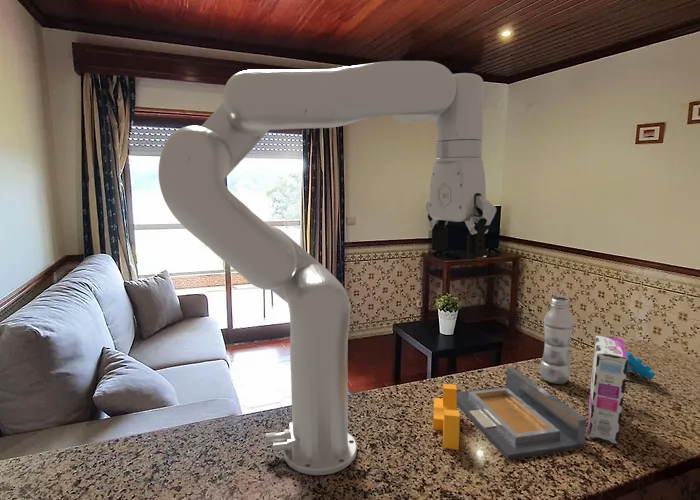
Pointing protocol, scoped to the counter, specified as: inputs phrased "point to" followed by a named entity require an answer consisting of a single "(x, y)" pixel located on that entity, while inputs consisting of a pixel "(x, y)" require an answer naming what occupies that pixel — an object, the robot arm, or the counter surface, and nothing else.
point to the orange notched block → (447, 416)
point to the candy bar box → (607, 389)
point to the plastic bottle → (557, 342)
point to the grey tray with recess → (523, 418)
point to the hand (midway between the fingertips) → (456, 253)
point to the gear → (638, 367)
